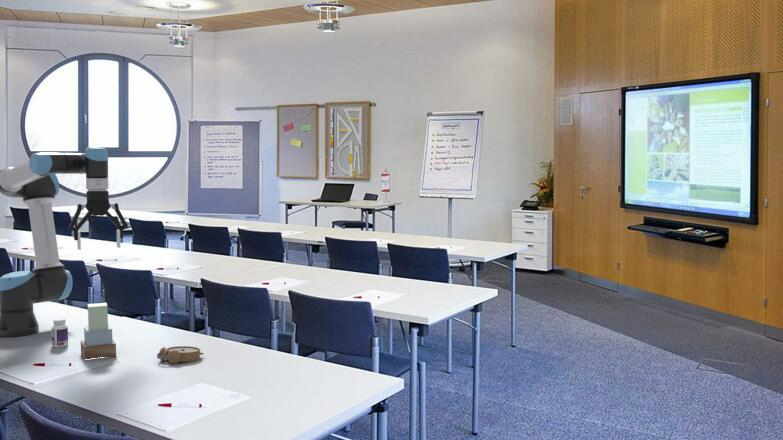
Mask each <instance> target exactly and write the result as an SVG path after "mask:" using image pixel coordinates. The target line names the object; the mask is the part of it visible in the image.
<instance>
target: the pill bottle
mask: <svg viewBox="0 0 783 440" xmlns="http://www.w3.org/2000/svg"><path fill="white" fill-rule="evenodd" d="M52 321H53V325H52V326H51V346H52V348H65V347H68V345H69V331H68V330H69V329H68V327H69V326H68V325H67V324H66V318H61V317H60V318H53V320H52Z"/></svg>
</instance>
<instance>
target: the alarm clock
mask: <svg viewBox="0 0 783 440" xmlns="http://www.w3.org/2000/svg"><path fill="white" fill-rule="evenodd" d="M159 349H160V350H159V352H158V353H156V358H157V359H159V360H160V361H162V362H166V361H168V363H170V364H172V365H177V364H179V363H188V362H190V363H191V362H195V361H199V360H200V359H201V356H202V355H204V352H201V349H200V347H196V346H187V345H184V346H183V345H181V346H171V347H170V346H169V347H168V348H166V347H165V346H163V347H162V348H159Z"/></svg>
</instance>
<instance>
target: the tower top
mask: <svg viewBox="0 0 783 440" xmlns="http://www.w3.org/2000/svg"><path fill="white" fill-rule="evenodd" d="M83 330H84V331H83V333H84V336H83V337H84V340H85V343H86V345H87V346H94V345H103V344H113V342H112V339H113V328H112V327H111V326H110V325H109V324H108V329H102V330H90V331H89V327H88V326H84V327H83Z"/></svg>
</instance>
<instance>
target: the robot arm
mask: <svg viewBox="0 0 783 440" xmlns="http://www.w3.org/2000/svg"><path fill="white" fill-rule="evenodd" d="M84 151H85V152H84V153H82V152H34V153H33V154H31V155H30V156H29V160H27V161H25V162H23V163H20V164H19V165H15V166H14V167H13V166H9V167H5V168H2V169H1V170H0V194H2V195H4V196H6V197H9V198H22V201H23V204H25V206H27V207H28V214H29V221H30V228H31V235H32V243H33V249H34V257H35V266H34V268H33V269H32V271H31V270H21V271H14V272H9V273H6V274H3V275H2V276H1V277H0V337H3V338H4V337H6V338H8V337H10V338H11V337H22V336H28V335H29V336H30V335H32V334H36V333H38V332H39V331H40V327H39V326H40V324H39V322H38V319H37V318H36V316H35V312H34V304H40V303H48V302H57V301H61V300H64V299H66V298H68V297H69V296H70V294H71V292H72V289H73V276H72V273H71V271H70V270H67V269H66V268H65V264H63V263H61V261H60V255H59V248H58V240H57V235H56V234H57V232H56V225H55V220H54V213H53V206H52V204H53V203H54V201H55V200H56V196H58V194H59V192H60V190H59V189H60V183H59V178H58V177H57V176H58V175H59V174H61V175H62V174H63V175H64V174H65V175H66V174H67V175H71V174H72V175H73V174H78V175H79V174H81V175H82V174H83V175H85V181H86V182H85V183H86V184H85V185H86V186H85V187H86V190H87V191H85V192H86V204H81V203H77V205H76V206H77V207H76V211H75V213H74V215H73V217H72V219H71V220H70V223H69V225H68V228H67V229H68V230H70V231H72V232H73V239H74V241H76V242H77V243H76V244H77V250H82V245H81V243H82V242H81V241H82V240H81V231H79V230H80V229H81V228H82V227H83V226H84V225H85V223H86V222H87V221H88V219H89V218H90V217H92V216H93V217H97V216H98V217H100V216H101V217H103V216H106V217H107V218H108V219H109V220H110V221H111V222H112V223H113V224H114V225H115V226H116V227H117V229H116V248H118V249H119V248H121V239H123V238H124V229H127V228H128V227H129V224H128V223H127V221H126V220H125V218H124V215H123V214H122V213H121V210H120V207H119V203H118V202H114V203H110V199H109V198H110V196H109V195H110V194H109V193H110V192H109V190H108V189H109V157H108V149H106V148H105V147H86V149H85V150H84ZM110 208H111V209H112V210H114V212H115V213H116V216H117V217H118V219H119V221H120V222H121V224H122V225H121V224H120V223H119V221H117V220H116V219H115V217H114V216H113V215H112V214H111V213H110V211H109V210H110ZM84 209H86V210H87V213H85V215H84V216H83V217H82V218H81V220H79V219H78V218H79V217H80V214H81V213H82V211H84ZM78 220H79V222H78ZM77 222H78V223H77ZM76 223H77V224H76Z"/></svg>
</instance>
